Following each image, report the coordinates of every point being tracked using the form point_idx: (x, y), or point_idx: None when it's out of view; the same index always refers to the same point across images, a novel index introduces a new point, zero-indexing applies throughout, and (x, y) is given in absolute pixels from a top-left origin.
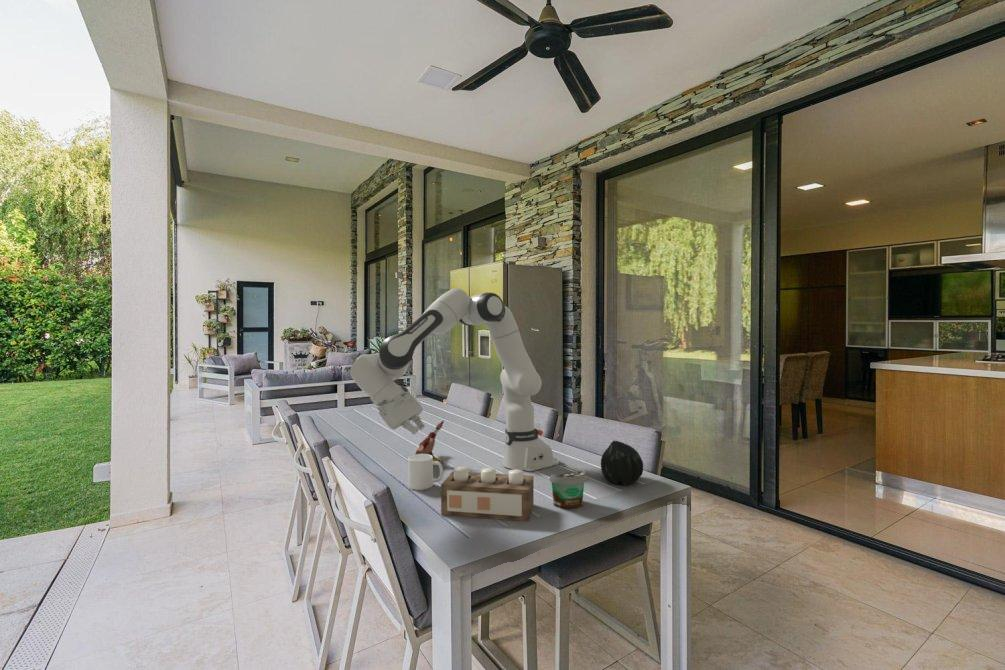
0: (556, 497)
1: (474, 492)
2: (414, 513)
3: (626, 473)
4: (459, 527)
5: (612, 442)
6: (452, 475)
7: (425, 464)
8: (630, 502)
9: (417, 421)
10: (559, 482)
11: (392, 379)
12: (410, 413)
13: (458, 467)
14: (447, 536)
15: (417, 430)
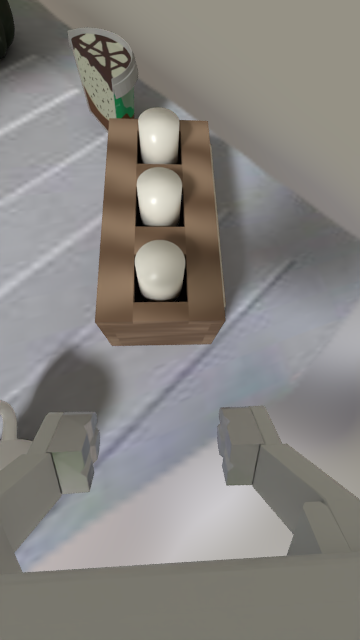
0: None
1: (218, 236)
2: (218, 414)
3: (10, 10)
4: (258, 288)
5: None
6: (137, 310)
7: (6, 462)
8: None
9: (21, 514)
10: (134, 79)
11: None
12: (193, 638)
13: (147, 273)
14: (302, 300)
15: (249, 406)
